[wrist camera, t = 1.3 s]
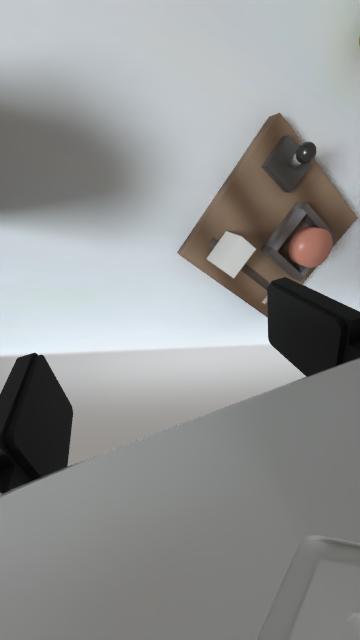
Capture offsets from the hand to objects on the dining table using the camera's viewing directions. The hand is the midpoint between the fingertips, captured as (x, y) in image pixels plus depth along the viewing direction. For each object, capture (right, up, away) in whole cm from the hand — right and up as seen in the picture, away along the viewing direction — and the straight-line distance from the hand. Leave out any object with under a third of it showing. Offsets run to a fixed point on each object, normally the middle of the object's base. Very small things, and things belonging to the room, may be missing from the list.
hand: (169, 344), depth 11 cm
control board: (+12, +13, +25) cm, 30 cm away
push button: (+16, +10, +22) cm, 30 cm away
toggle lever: (+13, +18, +18) cm, 29 cm away
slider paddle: (+6, +10, +22) cm, 25 cm away
